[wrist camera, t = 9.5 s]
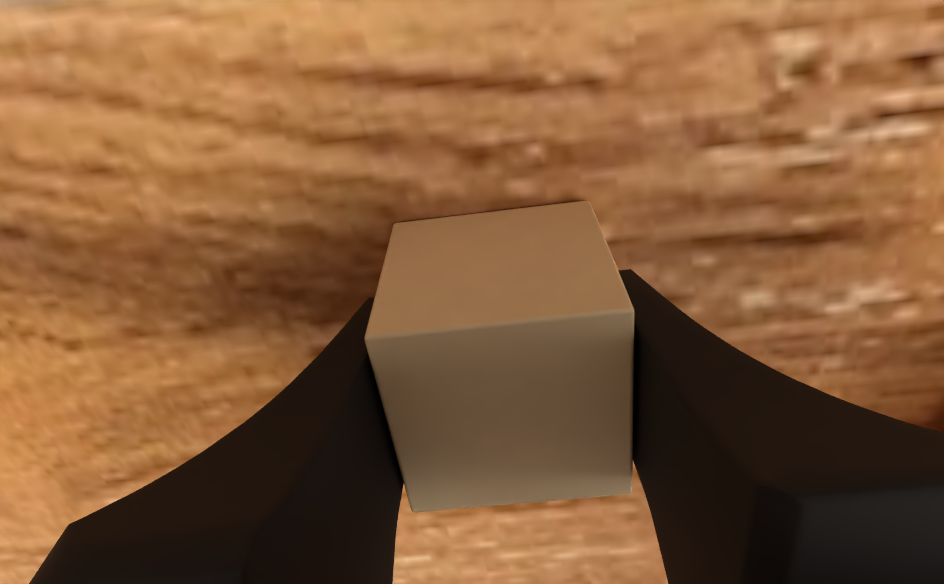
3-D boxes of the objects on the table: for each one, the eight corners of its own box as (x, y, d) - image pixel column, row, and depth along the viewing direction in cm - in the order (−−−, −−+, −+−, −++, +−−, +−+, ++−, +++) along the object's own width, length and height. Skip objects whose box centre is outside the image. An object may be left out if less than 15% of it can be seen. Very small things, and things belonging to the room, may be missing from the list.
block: (590, 198, 12) (635, 308, 9) (594, 357, 14) (633, 495, 11) (392, 222, 12) (362, 338, 9) (425, 374, 14) (411, 514, 11)
